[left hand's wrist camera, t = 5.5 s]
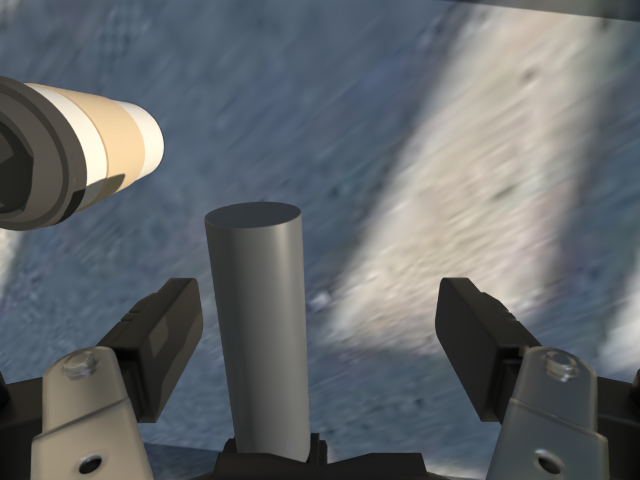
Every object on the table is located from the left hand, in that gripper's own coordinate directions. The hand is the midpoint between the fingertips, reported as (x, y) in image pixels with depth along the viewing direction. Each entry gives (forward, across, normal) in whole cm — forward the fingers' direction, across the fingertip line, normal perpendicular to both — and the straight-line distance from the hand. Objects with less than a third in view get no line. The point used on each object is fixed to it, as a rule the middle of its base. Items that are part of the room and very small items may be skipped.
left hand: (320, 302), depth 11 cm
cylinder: (+13, -4, -12) cm, 18 cm away
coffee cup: (+24, -18, +3) cm, 30 cm away
